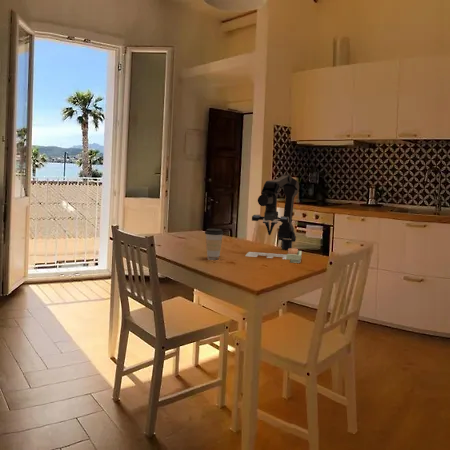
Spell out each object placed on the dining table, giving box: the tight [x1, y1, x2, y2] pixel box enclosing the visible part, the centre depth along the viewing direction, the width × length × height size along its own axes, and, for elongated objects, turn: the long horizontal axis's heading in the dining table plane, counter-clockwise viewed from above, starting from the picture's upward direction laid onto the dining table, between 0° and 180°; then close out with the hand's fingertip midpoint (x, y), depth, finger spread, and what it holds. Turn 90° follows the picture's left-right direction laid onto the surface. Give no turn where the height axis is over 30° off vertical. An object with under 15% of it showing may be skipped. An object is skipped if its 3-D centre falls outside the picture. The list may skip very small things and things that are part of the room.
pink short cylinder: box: [287, 247, 299, 255], centre depth 240 cm, size 5×5×4 cm
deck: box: [245, 250, 303, 264], centre depth 240 cm, size 13×28×4 cm, turn 79°
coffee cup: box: [204, 228, 225, 261], centre depth 232 cm, size 9×9×15 cm
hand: (269, 235), depth 241 cm, fingers closed
